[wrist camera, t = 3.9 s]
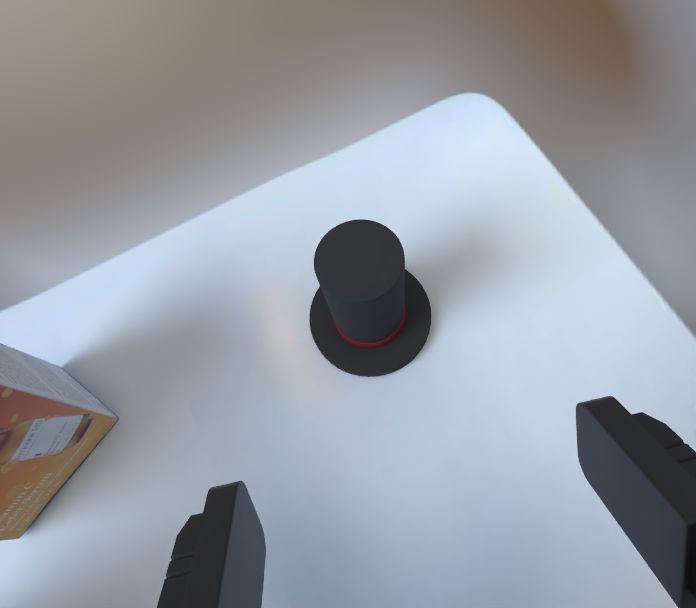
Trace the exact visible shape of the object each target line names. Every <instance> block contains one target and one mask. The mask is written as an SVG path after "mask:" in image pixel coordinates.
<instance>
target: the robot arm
mask: <svg viewBox="0 0 696 608" xmlns="http://www.w3.org/2000/svg"><path fill="white" fill-rule="evenodd" d="M576 425H577V446H578V458H579V462H580V465H581V468H582V471H583V473H584V475H585V477H586V479H587V480H588V482H589V483H590V485H591V486H592V488H593V489H594V490H595V492H596V493H597V495H598V496H599V497H600V499H601V500H602V502H603V503H604V504H605V506H606V507H607V508H608V510H609V511H610V513H611V514H612V515H613V517H614V518H615V520H616V521H617V522H618V524H619V525H620V527H621V528H622V529H623V531H624V532H625V534H626V535H627V536H628V538H629V539H630V541H631V542H632V543H633V545H634V546H635V548H636V549H637V550H638V552H639V553H640V555H641V556H642V557H643V559H644V560H645V562H646V563H647V564H648V566H649V567H650V569H651V570H652V571H653V573H654V574H655V576H656V577H657V578H658V580H659V581H660V582H661V584H662V585H663V587H664V588H665V589H666V591H667V592H668V594H669V595H670V596H671V598H672V599H673V601H674V602H675V603H676V605H677V606H678V608H696V452H695V451H694V450H693V449H692V448H691V447H690V446H689V445H688V444H684V442H683V440H682V439H681V438H680V437H679V436H678V435H677V434H676V433H675V432H674V431H673V430H672V429H670V428H669V427H668V426H667V425H666V424H665V423H663V422H660V421H658V420H656V419H654V418H652V417H650V416H648V415H646V414H644V413H642V412H641V413H637V414H632V415H631V414H630V413H629V412H628V411H627V410H626V409H625V408H624V407H623V406H622V405H621V404H620V403H619V402H618V401H617V400H616V399H615V398H614V397H612V396H607V397H603V398H599V399H594V400H590V401H586V402H582V403H578V404H577V406H576ZM265 556H266V546H265V537H264V532H263V528H262V525H261V523H260V520H259V518H258V515H257V513H256V510H255V508H254V505H253V503H252V500H251V498H250V495H249V493H248V490H247V488H246V486H245V484H244V483H243V482H242V481H238V482H234V483H229V484H225V485H221V486H216V487H212V488H210V489H209V491H208V494H207V498H206V503H205V507H204V511H203V513H201V514H197V515H192V516H190V518H189V519H188V521H187V522H186V524H185V525H184V527H183V528H182V530H181V531H180V533H179V534H178V535H177V538H176V542H175V545H174V549H173V552H172V556H171V559H172V560H171V561H170V563H169V566H168V570H167V573H166V576H167V578H166V579H165V581H164V584H163V588H162V591H161V595H160V598H159V602H158V605H157V608H261V605H262V592H263V580H264V568H265Z"/></svg>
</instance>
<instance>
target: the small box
mask: <svg viewBox="0 0 696 608" xmlns="http://www.w3.org/2000/svg"><path fill="white" fill-rule="evenodd" d="M116 422H117V417H116V416H115V415H114V414H113V413H112V412H111V411H110V410H109V409H107V408H106V407H105V406H104V405H103V404H102V403H101V402H100V401H98V400H97V399H96V398H95V397H94V396H93V395H92V394H90V393H89V392H88V391H87V390H86V389H85V388H83V387H82V386H81V385H80V384H79V383H78V382H77V381H75V380H74V379H73V378H72V377H71V376H70V375H68V374H67V373H66V372H65V371H64V370H62V369H61V368H60V367H59V366H57V365H54V364H51V363H49V362H46V361H44V360H41V359H39V358H36V357H34V356H31V355H29V354H26V353H23V352H21V351H18V350H16V349H13V348H11V347H8V346H6V345H3V344H1V343H0V540H10V539H18V538H20V537H21V536H22V535H23V534H24V532H25V531H26V529H27V528H28V527H29V526H30V524H31V523H32V522H33V521H34V519H35V518H36V517H37V515H38V514H39V513H40V512H41V510H42V509H43V508H44V507H45V505H46V504H47V503H48V502H49V501H50V499H51V498H52V497H53V496H54V495H55V493H56V492H57V491H58V490H59V489H60V487H61V486H62V485H63V484H64V483H65V482H66V480H67V479H68V478H69V477H70V476H71V474H72V473H73V472H74V471H75V470H76V469H77V467H78V466H79V465H80V464H81V463H82V461H83V460H84V459H85V458H86V457H87V456H88V454H89V453H90V452H91V451H92V450H93V449H94V447H95V446H96V445H97V444H98V443H99V441H100V440H101V439H102V438H103V437H104V435H105V434H106V433H107V432H108V431H109V430H110V429H111V428H112V427H113V425H114V424H115V423H116Z"/></svg>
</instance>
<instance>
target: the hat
mask: <svg viewBox="0 0 696 608" xmlns="http://www.w3.org/2000/svg"><path fill="white" fill-rule="evenodd" d="M314 269H315V273H316V276H317V279H318V281H319V284H320V287H319V289H318V290H317V292H316V294H315V296H314V298H313V301H312V305H311V309H310V328H311V332H312V336H313V338H314V341H315V343H316V345H317V346H318V348H319V350H320V351H321V353H322V354H323V355H324V356H325V358H326V359H327V360H328V361H329V362H331V363H332V364H333V365H335V366H336V367H337V368H339V369H341V370H343V371H345V372H348V373H351V374H354V375H358V376H367V377H369V376H381V375H385V374H389V373H392V372H394V371H396V370H399V369H400V368H402V367H404V366H405V365H407V364H408V363H409V362H410V361H412V360H413V359H414V358H415V357H416V355H417V354H418V353H419V352H420V350H421V349H422V348H423V346H424V344H425V342H426V339H427V337H428V334H429V329H430V324H431V308H430V304H429V300H428V297H427V294H426V292H425V290H424V289H423V287H422V285H421V284H420V283H419V281H418V280H417V279H416V278H415V277H414V276H413V275H412V274H410V273H409V272H408V271H407V270H405V259H404V251H403V247H402V245H401V243H400V241H399V239H398V238H397V236H396V235H395V234H394V233H393V232H392V231H391V230H390V229H389V228H387V227H386V226H384V225H382V224H380V223H378V222H374V221H370V220H352V221H348V222H344V223H342V224H340V225H338V226H336V227H334V228H333V229H331V230H330V231H329V232H328V233H327V234H326V235H325V236H324V237H323V238H322V240H321V241H320V243H319V244H318V247H317V249H316V252H315V256H314Z"/></svg>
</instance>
